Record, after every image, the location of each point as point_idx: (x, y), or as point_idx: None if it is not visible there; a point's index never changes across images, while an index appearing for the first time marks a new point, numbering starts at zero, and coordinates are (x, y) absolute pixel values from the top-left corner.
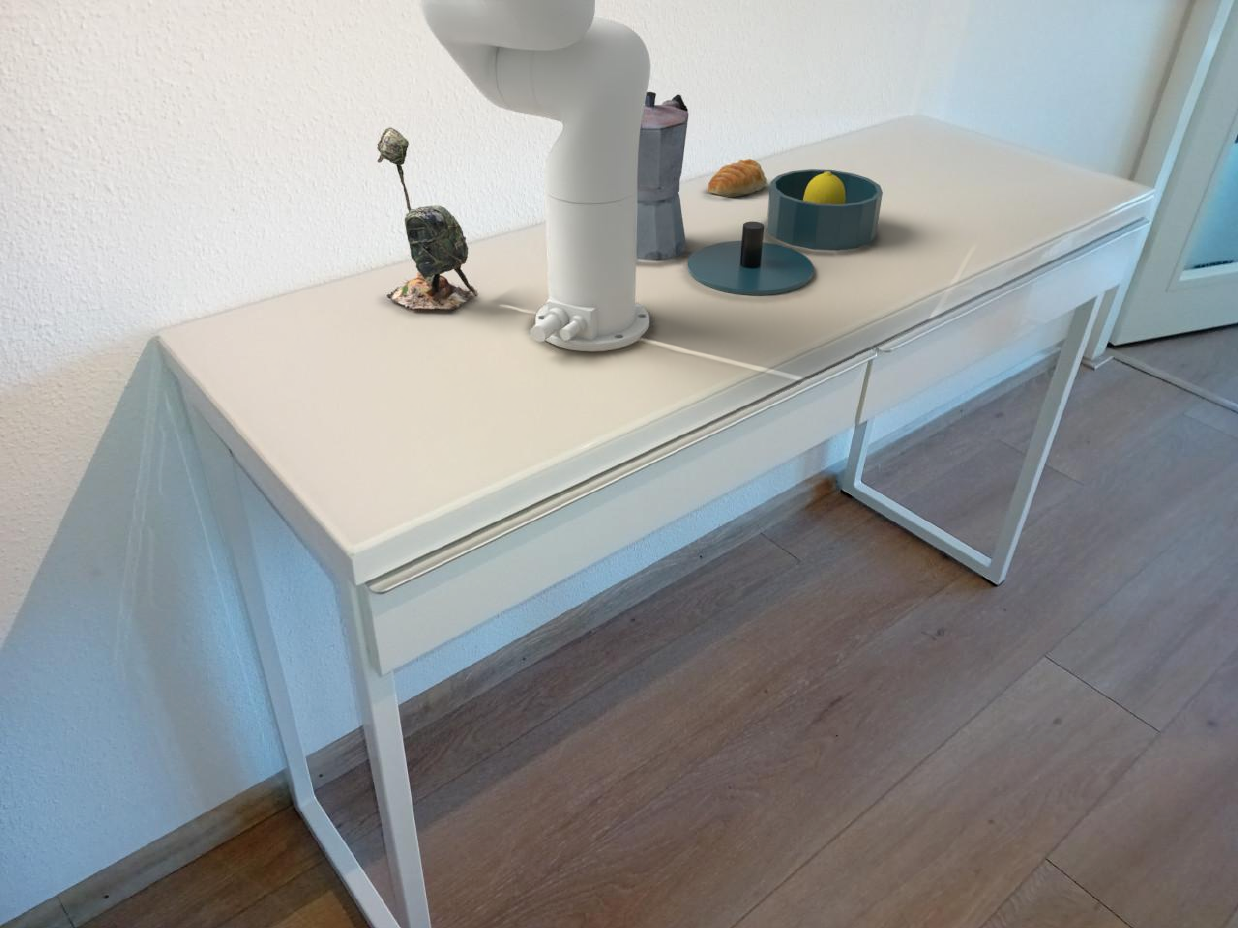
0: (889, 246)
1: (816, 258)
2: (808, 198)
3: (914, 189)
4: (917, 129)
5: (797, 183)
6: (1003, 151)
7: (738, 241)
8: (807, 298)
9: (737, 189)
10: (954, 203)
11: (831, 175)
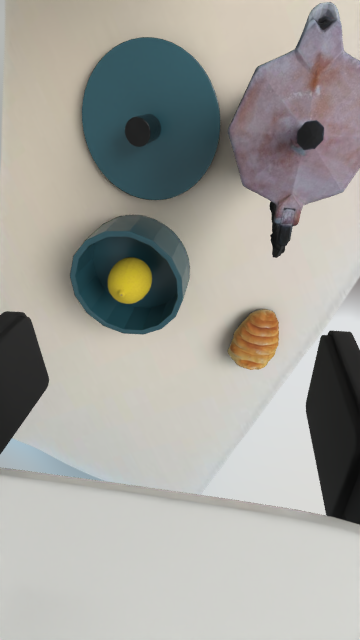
0: None
1: (114, 205)
2: (138, 267)
3: (117, 387)
4: None
5: (170, 310)
6: (99, 468)
7: (188, 187)
8: (73, 94)
9: (244, 320)
10: (80, 370)
11: (117, 292)
